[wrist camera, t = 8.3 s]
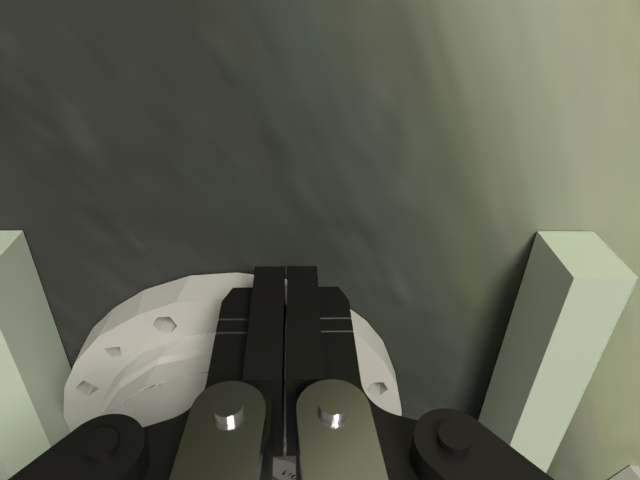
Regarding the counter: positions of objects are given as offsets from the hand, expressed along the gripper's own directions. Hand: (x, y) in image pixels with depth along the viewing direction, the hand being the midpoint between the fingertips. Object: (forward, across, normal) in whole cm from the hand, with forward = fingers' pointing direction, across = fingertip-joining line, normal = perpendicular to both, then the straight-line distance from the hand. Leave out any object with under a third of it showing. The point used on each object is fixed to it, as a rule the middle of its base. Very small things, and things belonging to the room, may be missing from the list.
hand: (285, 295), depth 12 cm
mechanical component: (+2, +2, +5) cm, 6 cm away
